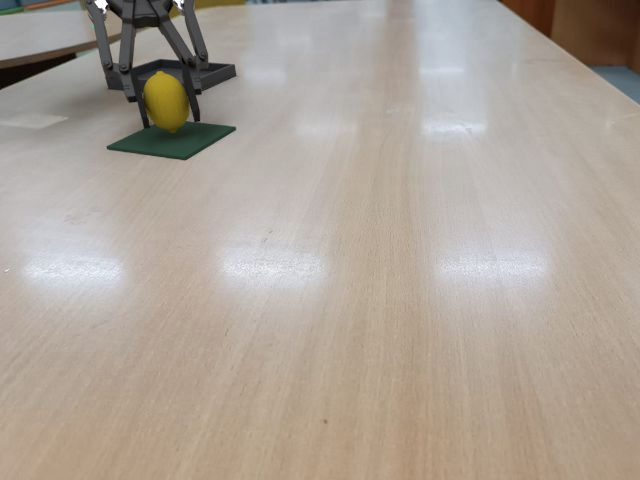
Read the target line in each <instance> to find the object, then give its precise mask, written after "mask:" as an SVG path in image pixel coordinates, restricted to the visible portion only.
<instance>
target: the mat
mask: <svg viewBox="0 0 640 480" xmlns="http://www.w3.org/2000/svg"><path fill="white" fill-rule="evenodd" d="M236 130H237V127H236V126H234V125H233V126H232V125H225V124H216V123H215V124H214V123H207V122H200V121H199V122H194V121H190V120H189V121H188V120H187V121H186V123H185V124H184V125H183V126H181V127H180V128H178V130H177V131H176V133H170V132H169V131H167V130H166V129H162V128H160V127H158V126H156V125H155V124H154V123H152V124H150V128H147V129H144V128H142V129H139V130H137V131H136V132H133V133H132V134H129V135H127V136H125V137H124V138H121V139H119V140H116V141H115V142H112V143H110V144H108V145H106V150H112V151H118V152H119V151H120V152H125V153H132V154H140V155H147V156H155V157H162V158H169V159H175V160H182V161H187V160H188V159H189V158H191V157H192V156H194V155H196V154H198V153H199V152H201V151H203V150H205V149H206V148H208V147H209V146H211V145H212V144H214V143H216V142H218V141H219V140H221V139H223V138H225V137H226V136H228V135H229V134H231V133H232V132H234V131H236Z"/></svg>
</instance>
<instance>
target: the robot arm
mask: <svg viewBox="0 0 640 480" xmlns="http://www.w3.org/2000/svg"><path fill="white" fill-rule="evenodd" d="M83 4H84V7H85V10H86V14H87V17H88V18H89V19H90V22H92V24H93V28H94V29H93V30H94V34H95V38H96V43H97V49H98V55H99V61H100V64H101V67H102V70H103V74H104V77H105V76H106V77H107V78H108V79H113V78H118V79H120V80H121V81H122V84H123V88H124V90H123V91H124V95H125V98H126V101H127V102H128V103H129V104H131V103H137V107H138V110H139V113H140V114H139V115H140V118H141V122H142V127H143V129H147V128H150V125H151V123H150V119H149V116H148V114H147V112H146V108H145V104H144V100H143V92H141V88H140V84H139V80H138V76H137V72H136V70H132V68H133V67H134V56H135V55H134V54H135V44H136V38H137V30H140V29H145V28H154V29H155V28H157V29H158V31H159V32H160V34H161V35H162V36H163V37H164V38H165V40H166V41H167V43H168V44H169V46H170V48H171V49H172V51H173V53H174V55H175V56H176V58H177V60H179V61H180V62H181V64H182V65H181V66H182V78H183V81H184V85H185V89H186V92H187V97H188V101H189V107H190V111H191V114H192V115H191V116H192V118H193V122H199V123H200V122H201V109H200V106H199V102H198V98H197V96H201V95H202V93H203V91H202V84H201V80H200V76H199V73H198V71H199V70H201V69H203V70H205V69H207V68H208V62H209V51H208V48H207V46H206V43H205V40H204V37H203V34H202V31H201V28H200V24H199V22H198V18H197V15H196V12H195V9H196V8H195V7H196V6H195V0H83ZM174 7H176V8H177V11H178V13H179V14H180V15H181V16H182V17H184V23H185V26H186V31H187V34H188V36H189V39H190V42H191V45H192V48H193V52H194V55H193V53H192V51H191V50H190V48H189V47H188V45H187V44H186V42H185V40H184V39H183V37H182V36H181V34H180V32H179V31H178V29H177V28H176V26H175V25H174V23H173V21H172V19H171V17H170V15H169V14H170V13H171V11H172V9H173V8H174ZM108 11H111V12H112V13H113V14H114V15H115V16H117V17H118V18H119V19H120V20H121V32H120V42H119V53H118V63H117V62H114V61H113V55H112V50H111V46H110V40H109V36H108V31H107V27H106V24H105V21H106V20H107V18H108Z"/></svg>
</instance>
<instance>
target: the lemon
mask: <svg viewBox="0 0 640 480" xmlns="http://www.w3.org/2000/svg"><path fill="white" fill-rule="evenodd" d="M142 96H143V100H144V104H145V108H146V112H147V115H148V119H149V121H151V122H152V124H155V125H156V126H158V127H160V128H162V129H166V130H167V131H169V132H170V133H176V131H177V130H178V128H180V127H181V126H183V125H184V124H185V123H186V121H188V119H189V117H190V111H191V107H190V103H189V100H188V96H187V94H186V91H185V89H184V87H183V85H182V84H181V83H180V82H179V81H178V80H177V79H176V78H174V77H173V76H171V75H168V74H165V73H164V72H163V71H158V72H157V73H156V75H154V76H152V77H151V78H149V79H148V81H147V82H146V84H145V86H144V90H143V92H142Z"/></svg>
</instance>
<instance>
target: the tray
mask: <svg viewBox="0 0 640 480" xmlns="http://www.w3.org/2000/svg"><path fill="white" fill-rule="evenodd" d="M181 65H182V64H181V62H180V61H179V59H167V58H158V59H155V60H152V61H148V62H145V63H142V64H139V65H135V66H133V68H132V70H136V72H137V76H138V80H139V84H140V88H141V92H142V93H143V90H144V86H145V84H146V82H147V81H148V79H149V78H151V77H152V76H154V75H156V73H157V72H158V71H163V72H164V73H165V74H168V75H171V76H173V77H174V78H176V79H177V80H178V81H179V82H180V83H181V84H182V85H183V87H184V89H185V85H184V81H183V78H182V66H181ZM236 69H237V68H236V64H235V63H223V62H222V63H221V62H209V61H208V68H207V69H205V70H203V69H201V70H199V71H198V73H199V76H200V80H201V84H202V92H203V91H206V90H208V89H210V88H212V87H214V86H217V85H218V84H221V83H223V82H225V81H227V80H230V79H233V78H234V77H237V70H236ZM104 79H105V82H106V86H107V89H108V90H109V89H110V90H118V91H119V90H120V91H124V88H123V84H122V81H121V80H120V79H118V78H113V79H108V78H107V77H106V76H105V75H104ZM185 91H186V89H185ZM186 94H187V92H186Z"/></svg>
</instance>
